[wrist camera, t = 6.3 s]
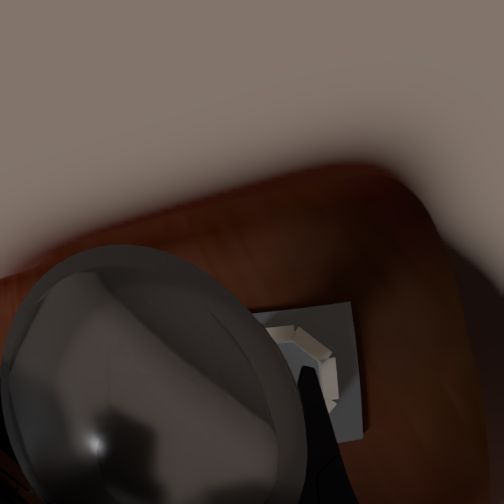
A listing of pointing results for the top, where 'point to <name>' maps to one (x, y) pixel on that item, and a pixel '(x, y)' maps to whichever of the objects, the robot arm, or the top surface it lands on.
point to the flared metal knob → (148, 388)
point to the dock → (323, 358)
